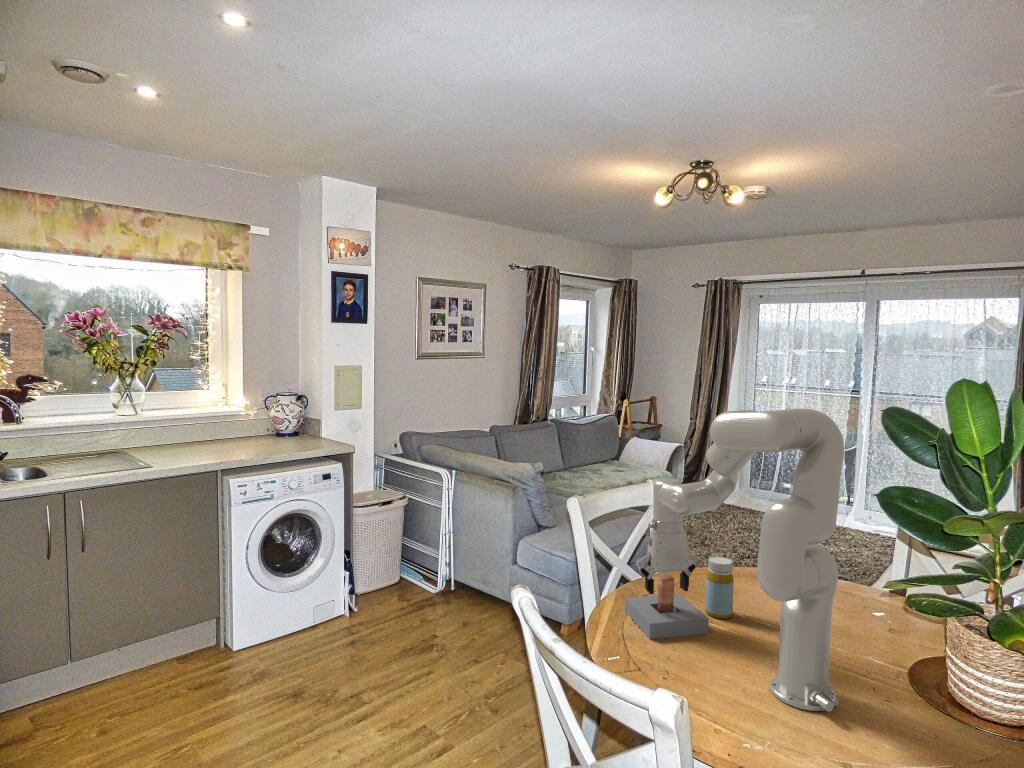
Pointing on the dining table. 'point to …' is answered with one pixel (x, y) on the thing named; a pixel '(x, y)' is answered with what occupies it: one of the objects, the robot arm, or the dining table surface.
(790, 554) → the robot arm
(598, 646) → the dining table surface
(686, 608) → the socket block
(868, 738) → the dining table surface
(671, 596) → the peg
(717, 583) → the bottle
